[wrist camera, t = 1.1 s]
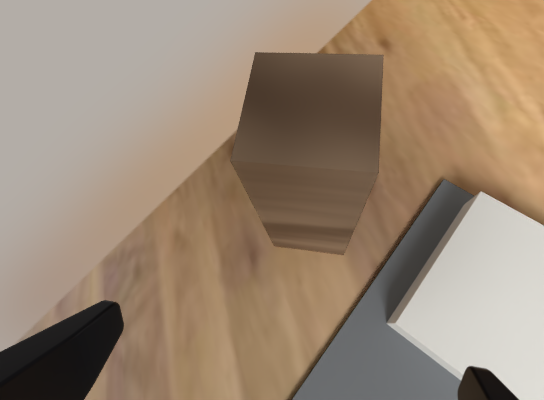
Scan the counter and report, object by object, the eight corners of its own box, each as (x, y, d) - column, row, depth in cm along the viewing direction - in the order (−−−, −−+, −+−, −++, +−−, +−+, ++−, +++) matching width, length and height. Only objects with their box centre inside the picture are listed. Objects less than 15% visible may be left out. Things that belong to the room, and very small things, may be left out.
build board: (509, 665, 14) (553, 740, 12) (273, 425, 19) (267, 441, 16) (664, 305, 18) (721, 303, 16) (442, 181, 23) (458, 163, 20)
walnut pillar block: (343, 255, 22) (378, 172, 10) (274, 246, 23) (230, 160, 11) (348, 190, 24) (383, 54, 12) (283, 184, 25) (255, 52, 13)
